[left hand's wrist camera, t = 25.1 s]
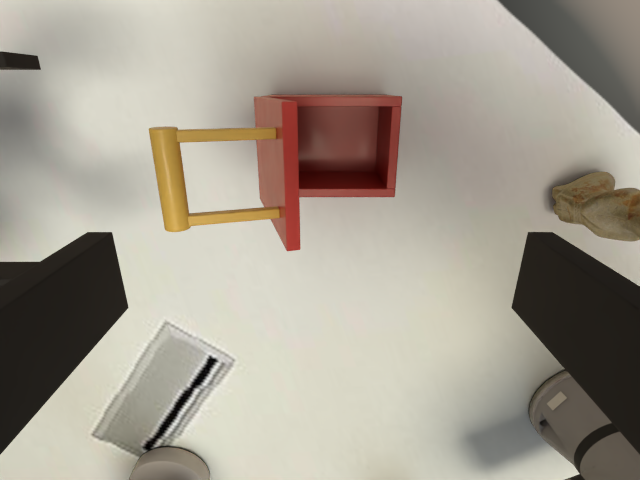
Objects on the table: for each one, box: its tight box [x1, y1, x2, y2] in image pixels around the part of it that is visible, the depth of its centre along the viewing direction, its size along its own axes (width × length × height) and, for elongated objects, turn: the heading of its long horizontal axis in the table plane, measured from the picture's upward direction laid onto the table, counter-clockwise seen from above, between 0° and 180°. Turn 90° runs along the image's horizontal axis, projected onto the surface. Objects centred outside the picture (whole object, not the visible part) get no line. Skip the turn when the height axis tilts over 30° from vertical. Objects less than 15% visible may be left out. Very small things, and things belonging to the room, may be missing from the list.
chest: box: [261, 95, 402, 197], centre depth 40 cm, size 13×9×9 cm
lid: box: [149, 97, 300, 251], centre depth 29 cm, size 13×9×9 cm
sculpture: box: [552, 172, 640, 241], centre depth 40 cm, size 6×7×15 cm
